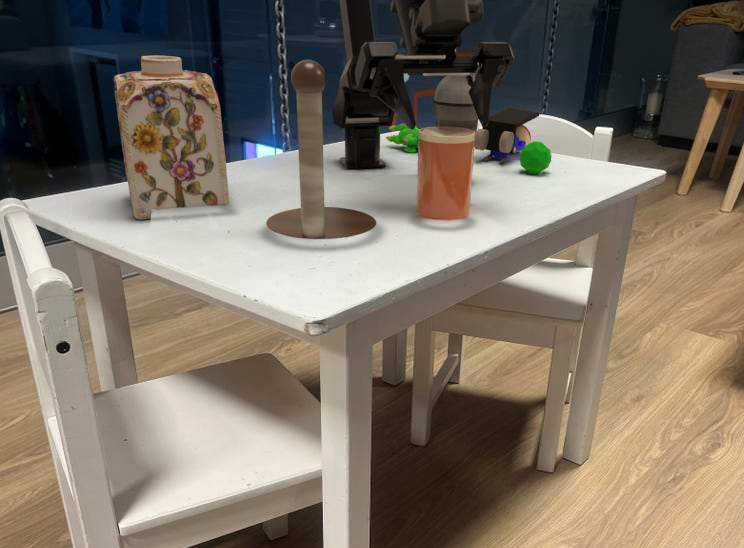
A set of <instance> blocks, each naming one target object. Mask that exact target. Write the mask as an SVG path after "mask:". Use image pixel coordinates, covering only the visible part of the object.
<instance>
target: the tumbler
mask: <svg viewBox="0 0 744 548" xmlns="http://www.w3.org/2000/svg"><path fill="white" fill-rule="evenodd" d="M418 129H419V132H418V137H419V143H418V148H417V170H416V171H417V173H416V175H417V176H416V202H415V203H416V204H415V206H416V207H415V213H416V214H417V215H418V216H420V217H422V218H425V219H429V220H436V221H455V220H456V221H457V220H462V219H465V218H467V217H469V216H470V213H471V212H470V211H471V199H472V197H471V196H472V184H473V172H474V171H473V169H474V156H475V147H474V143H475V135H476V133H475V131H473V130H470V129H466V128H460V127H448V126H436V125H435V126H427V127H421V128H418Z"/></svg>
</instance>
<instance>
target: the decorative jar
mask: <svg viewBox="0 0 744 548" xmlns="http://www.w3.org/2000/svg"><path fill="white" fill-rule="evenodd" d="M182 61H183V60H182V58H181V57H179V56H171V55H142V56H141V58H140V65H141V70H134V71H133V70H132V71H128V72H125V73H120V74H116V75H114V77H113V85H114V86H113V89H114V90H113V91H114V98H115V105H116V112H117V113H116V114H117V119H118V126H119V133H120V140H121V148H122V155H123V156H122V157H123V162H124V168H125V175H126V179H127V184H128V191H129V198H130V203H131V207H132V213H133V215H134V218H135V219H136V220H139V221H141V220H142V221H143V220H151V219H152V213H153V211H155V210H169V209H181V208H183V209H184V208H196V207H209V206H211V207H212V206H228V205H230V199H229V184H228V183H229V182H228V172H227V171H228V170H227V161H226V151H225V150H226V149H225V142H224V133H223V131H224V130H223V122H222V113H221V112H222V111H221V104H220V98H219V94H218V92H217V91H216V89H215V87H216V85H215V84H214V82H213V79H212V77H211V76H210V75H209V74H207V73H204V72H199V71H193V70H187V69H184V70H183V65H182V64H183V62H182Z"/></svg>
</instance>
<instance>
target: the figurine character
mask: <svg viewBox="0 0 744 548" xmlns="http://www.w3.org/2000/svg"><path fill="white" fill-rule="evenodd" d="M539 117H540V112H538V111H532V110H531V111H530V110H524V109H517V108H512V107H511V108H510V107H508V108H505V109H503V110H500V111H498V112H497V113H494V114H493V115H489V123H488V125H487V126H486V127H483V126H482V128H478V129H477V132H476V139H475V145H474V150H477V151H489V154H488V155H486V156H485V157H484V158H483V161H485V162H488V161H490V160H491V159H492V158H495V159H500V160H499V164H503V163H505V162H506V161H507V160H508V159H509V157H510V156H509V155H513V154H515V153H520V152H521V150H522V148H523V147H525V146H526V145H528V144H529V143H531V141H532V135H531V132H530V130H529V128H528V127H526V126H525V124H527V123H530V122H531V121H533V120H534V119H536V118H539Z"/></svg>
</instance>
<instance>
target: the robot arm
mask: <svg viewBox="0 0 744 548" xmlns="http://www.w3.org/2000/svg"><path fill="white" fill-rule="evenodd" d="M371 3H372V2H371V0H339V7H340V16H341V24H342V30H343V38H344V40H343V41H344V48H345V57H346V63H345V66H344V68H343V72H342V74H341V76H340V78H339V82H338V85H339V88H338V90H337V94H336V96H335V100H334V104H333V107H332V110H331V111H332V122H333V125H335V126H337V127H338V128H340V129H344V156H340V157H339V161H340V163H341V164H343V166H344V167H345V168H346V169H370V168H372V169H373V168H386V167H387V163H385V162H384V161H383V160H382V159H381V127H388V128H390V127H391V126H393V122H394V116H395V115H396V116H397V117H398V118H399V119H400V121H402V122H403V123H404V124H406V125H405V126H406V127H407V126H408V127H407V128H409V129H410V130H414V128H415V126H416V127H417V123H416V122H417V121H416V116H415V111H414V108H413V105H412V102H411V99H410V94H409V92H408V88H407V85H406V82H405V74H406V75H408V76H423V77H428V76H429V77H433V76H434V77H436V76H439V77H440V76H442V77H443V76H444V77H445V76H448V75H466V78H467V82H468V85H469V86H471V88H470V90H469V95H470V98H471V100H472V103H473V106H474V108H475V111H476V114H477V117H478V122H479V123H480V125H481V126H482V128H483V127H486V126H487V125H488V123H489V117H490V116H491V115H490V114H491V105H492V103H491V102H492V96H493V95H492V93H493V91H494V90H496V89H497V88H500V86H501V85H502V82H503V81H504V79H505V77H506V75H507V73H508V71H510V68H511V67H512V65H513V63H514V61H515V56H514V52H513V48H512V46H511V45H510V43H508V42H501V41H498V42H497V41H496V42H494V41H493V42H491V41H489V42H481V41H479V42H478V43H477V45H476V47H475V49H474V52H473V54H472V55H457V51H456V52H455V49H456V50H457V48H460V47H461V46H462V44H463V41H464V39H463V35H462V33H463V32H464V31H465V30H466V29H467V28H468V27H475V26H477V25H478V24H479V23H480V22H481V21H482V20H483V19H484V15H485V12H484V11H485V10H484V9H485V8H484V3H483V0H391V3H390V10H389V11H390V14H391V15H396V16H397V17H396V18H397V20H398V25H399V28H400V32H401V35H400V38H399V41H398V42H399V45H400V48H402V49H403V48H404V49H405V52H406V53H399V48H398V43H397V42H395V41H376V37H375V28H374V21H373V12H372V4H371Z"/></svg>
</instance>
